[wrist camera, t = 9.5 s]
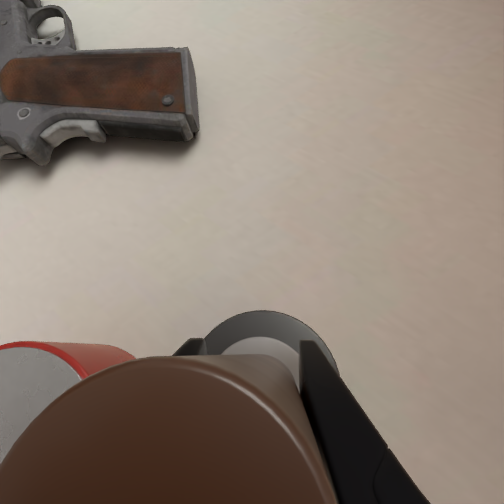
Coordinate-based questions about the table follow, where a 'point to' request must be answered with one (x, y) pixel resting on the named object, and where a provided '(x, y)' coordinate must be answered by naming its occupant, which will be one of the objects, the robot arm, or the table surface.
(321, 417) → the robot arm
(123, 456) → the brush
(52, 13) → the handgun
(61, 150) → the table surface
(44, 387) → the tin
